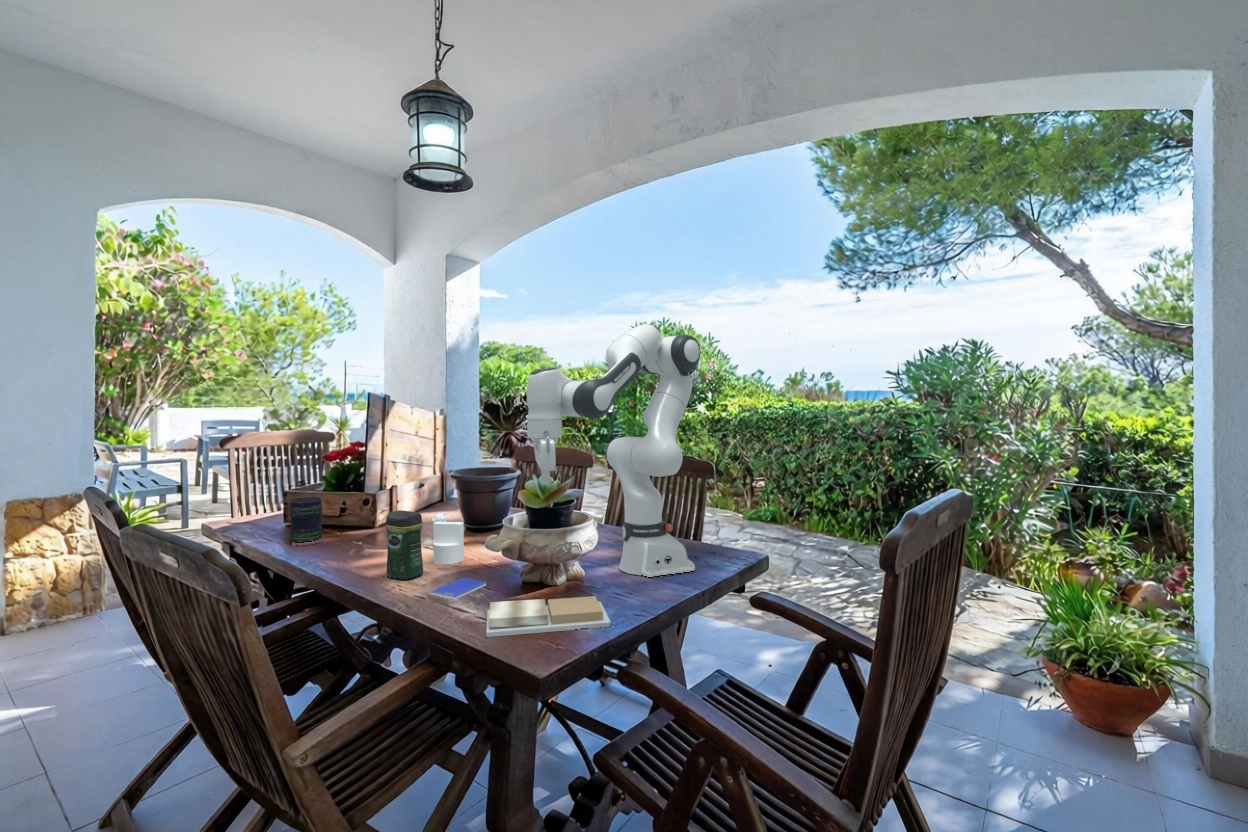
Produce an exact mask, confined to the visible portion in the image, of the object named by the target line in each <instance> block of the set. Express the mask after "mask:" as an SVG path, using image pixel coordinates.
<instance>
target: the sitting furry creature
mask: <svg viewBox="0 0 1248 832" xmlns="http://www.w3.org/2000/svg"><path fill="white" fill-rule="evenodd" d="M449 519H450V515H449V514H448V515H447V514H445V513H444V512H437V513H435V515H433V517H432V518H431V520H432V522H431V523H432V524H433V523H435V522H448V521H447V520H449ZM433 543H434V541H433V539H427V540H425V541H424V542H423V543H422V545H423V544H424V545H426V546H432V547H433ZM424 545H423V546H424Z"/></svg>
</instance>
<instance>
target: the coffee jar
mask: <svg viewBox="0 0 1248 832" xmlns="http://www.w3.org/2000/svg"><path fill="white" fill-rule="evenodd" d="M422 527H423V517H422V513H421V512H417V511H409V510H395V511H390V512H388V514H387V515H386V520H385V528H386V533H387V554H386V555H387V556H386V557H387V558H386V559H387V560H386V576H387V577H388V576H391V577H395V578H394V579H396V578H400V579H399V580H409V579H408V578H410V579H414V578H413V577H416V578H418V577H420V576H421V575H422V574H423V573H424V565H423V563H424V562H423V561H424V560H423V553H422V540H421V536H422ZM419 575H420V576H419ZM417 576H418V577H417ZM391 577H390V578H391Z"/></svg>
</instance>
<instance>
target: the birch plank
mask: <svg viewBox="0 0 1248 832" xmlns="http://www.w3.org/2000/svg"><path fill="white" fill-rule="evenodd" d="M546 606H547V604H546V599H545V598H540V599H537V598H536V599H524V600H523V599H521V600H505V601H492V602H491V601H490V602H489V610H490V617H489V628H495V627H509V626H524V625H538V624H548V612H547V608H546Z"/></svg>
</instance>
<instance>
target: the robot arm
mask: <svg viewBox="0 0 1248 832" xmlns="http://www.w3.org/2000/svg"><path fill="white" fill-rule="evenodd" d="M700 358H701V346H700V344H699V342H698V340H697V339H696V338H695V336H692V335H690V334H678V335H669V336H664V337H662V335H661V333H660V331H659V330H658V329H657V327H655V326H653V325H652V324H649V323H642V324H639V325H637V326H634V327H632V328H631V329H629V330H627V331H626V332H624V333H622V334H621V335H620V336H618V337H617V338H616V339H614V340H613V341H612V342H611V344H609V346H608V347H607V349H606V350H605V360H606V363H607V366H608V367H609V370H608V371H607V372H606V373H605V374H604V375H603V376H601V377H599V378H594V379H589V380H573V379H572V378H570V377H567V376H566V375H565V374H563V373H562V372H561V371H560V370H559V368H557V367H556V366H555V367H554V366H551V367H541V368H537V369H534V370H532V371H530V373H529V375H528V378H527V385H526V387H527V388H526V403H527V408H528V413H527V418H526V419H527V420H526V421H527V422H526V423H527V427H526V428H527V438H528V439H532V445H533V450H534V452H533V453H534V457H535V461H536V463H537V465H538V467H539V469H540V476H541V477H540V478H541V484H542V485H543V486H544V485H545V486H548V485H549V484H550V475H551V472H553V471H556V468H557V467H556V466H557V465H556V464H557V463H556V462H557V460H556V458H557V457H556V456H557V455H556V445H557V444H558V438H562V436H563V419H562V417H563V416H564V417H572V418H585V419H590V420H599V419H601V418H603V417H604V416H605V415H607V413H608V412H609V411H610V409H611V407H612V406H613V403H614V401H615V400H616V398H617V397H618V396H619V395H620V394H621V393H622V392H623V391H624V390H625V388H627V386H629V384H630V383H631V382H632V381H633V380H634V379H635V378H636V377H637V375H638V374H639V373H640V371H642V372H644V373H646V374H649V375H657V374H659V382H658V384H657V386H656V388H655V389H654V391H653V393H652V395H651V397H650V399H649V401H648V403H647V406H646V407H645V410H644V412H643V414H642V419H643V423H644V424H645V426H646V427H647V428H648V430H647V433H646V434H645V436H644V437H643V436H642V437H641V436H623V437H622V436H621V437H617V438H615V439H613V440H611V442H610V443H609V445H608V447H607V449H606V459H607V462H608V464H609V465H610V467H611V468H613V470H614V471H615V473H616V475H617V476H618V479H619V482H620V485H621V489H622V493H623V500H624V503H623V505H624V520H623V521H622V539H623V544H622V545H623V546H622V552H621V558H620V562H619V566H618V568H619V570H620V571H622V572H624V573H625V574H630V575H634V576H635V575H637V576H641V575H643V576H642V577H644V576H647V577H646V578H648V577H653V576H659V575H667V574H674V575H676V574H675V573H682V574H684V573H683V572H689V571H694V570H695V571H696V566H695V564H694V562H693V561H692V560H691V559H689V558H688V552H687V549H686V548H685V546H684V545H683V543H681V542H679V540H677V539H676V538H675V537H674V536H672V535H671V534H670V533H668V532H672V531H673V530H674V526H673V524H670V523H668V522H666V521H665V520H663V516H662V515H663V514H662V513H663V512H662V511H663V504H662V503H663V502H662V501H663V498H662V494H661V492H660V491H659V490H658V489H657V488H656V486H654V484H653V482H652V481H651V478H650V476H651V477H657V478H658V477H660V478H661V477H662V478H663V477H667V476H674V475H676V474H677V473H678V472H679V470H680V469H681V466H682V464H683V452H682V449H681V448H680V445H678V442H677V431H678V428H679V426H680V422H681V420H682V418H683V415H684V413H685V411H686V408H687V407H688V403H689V400H690V397H691V395H692V390H693V380H692V378H691V375H692V374H693V373H694V372H696V369H697V365H698V363H699V361H700ZM695 571H694V572H695ZM689 573H690V572H689ZM667 576H668V575H667ZM653 578H654V577H653Z"/></svg>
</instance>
